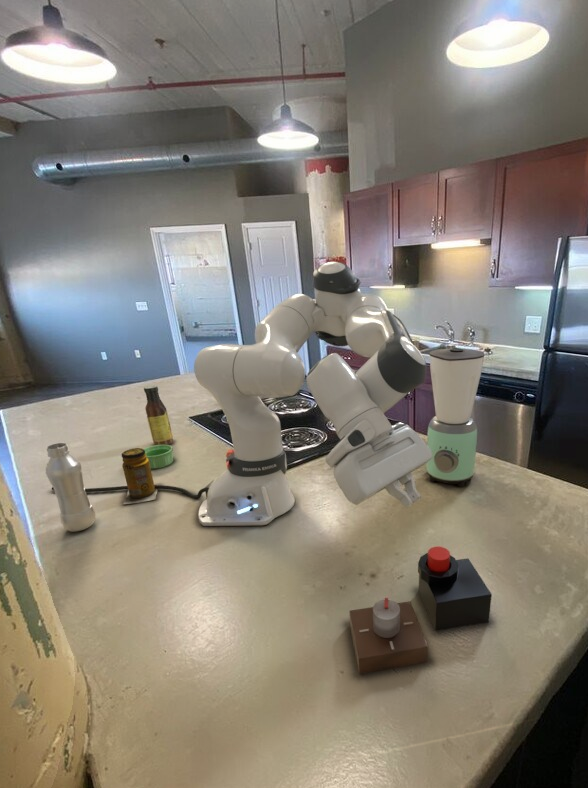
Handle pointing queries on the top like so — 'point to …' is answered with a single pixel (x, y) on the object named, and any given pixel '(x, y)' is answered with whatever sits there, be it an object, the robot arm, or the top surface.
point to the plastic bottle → (69, 488)
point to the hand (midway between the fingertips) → (413, 503)
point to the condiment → (138, 476)
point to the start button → (438, 559)
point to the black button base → (454, 594)
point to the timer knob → (386, 618)
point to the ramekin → (159, 455)
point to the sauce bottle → (157, 417)
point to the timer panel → (387, 641)
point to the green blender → (453, 414)
